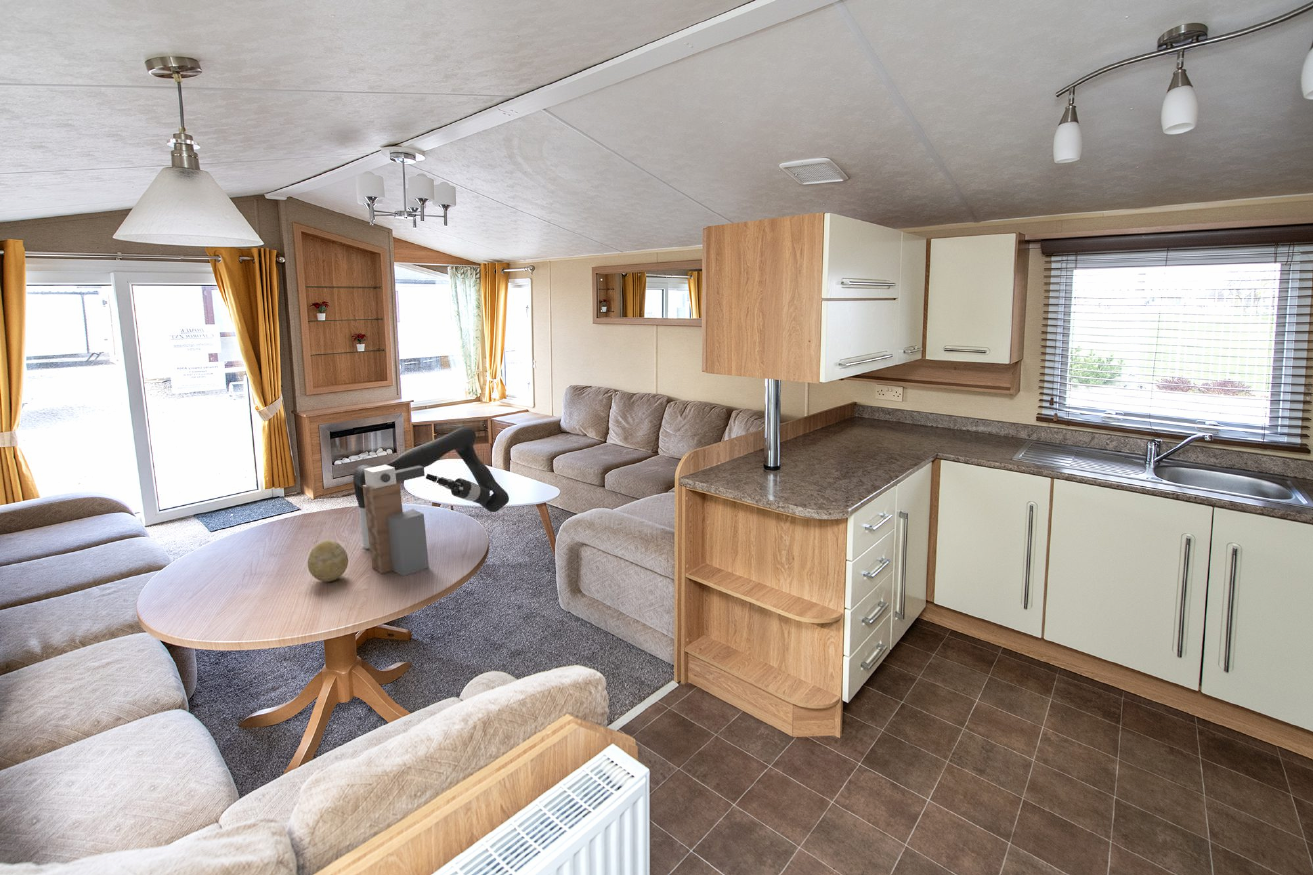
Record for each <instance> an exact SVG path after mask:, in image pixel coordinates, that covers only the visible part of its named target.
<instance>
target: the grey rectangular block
mask: <svg viewBox="0 0 1313 875" xmlns="http://www.w3.org/2000/svg"><path fill="white" fill-rule="evenodd" d="M424 514H425V513H423V512H420V511H417V510H416V509H408V510H405V511H403V512H401V513H397V514H393V515H390V516H387V523H388V532H389V541H390V550H391V559H392V568H393V570H392V571H393V572H395V573H397V574H399V575H400V576H402V577H405V576H408V575H411V574H413V573H414V574H415V573H416V572H420V571H422V570H426V569H428V568H430V565H429V554H428V545H427V544H428V543H427V533H426V523H425V515H424Z"/></svg>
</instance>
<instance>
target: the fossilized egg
mask: <svg viewBox="0 0 1313 875" xmlns="http://www.w3.org/2000/svg"><path fill="white" fill-rule="evenodd" d="M348 565H349V556H348V554H347V551H346V549H345V548H344V547H343V546H342V545H341V544H340V543H339V542H337V541H335V540H334V539H324V540H321V541H319V542H318V543H316V544H315V546H314V547H313V548H312V549H311V551H310V553H309V554H308V556H307V568H308V571H309V573H310V575H311V576H312V577H313V578H315V580H318V581H320V582H325V583H326V582H327V583H328V582H333V581H336V580H337V579H339V578H341V577H342V576H343V575H344V573H345V572H346V570H347V569H348Z"/></svg>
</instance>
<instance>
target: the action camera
mask: <svg viewBox="0 0 1313 875" xmlns="http://www.w3.org/2000/svg"><path fill="white" fill-rule="evenodd" d="M381 465H382V466H381ZM381 465H378V466H373V467H372V468H367V469H364V473H365V481H366V485H367V486H369V487H372V488H374V489H376V488H380V487H384V486H389V485H393V484H396V482H397V483H400V482H403V481H404V482H405V481H408V480H413V479H418V478H421V477H426V475H425V468H424V467H422V466H414V467H410V468H405V469H400V470H396V471H395V468H394V467H391V466H388V465H384V464H381Z"/></svg>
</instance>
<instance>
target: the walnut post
mask: <svg viewBox="0 0 1313 875" xmlns="http://www.w3.org/2000/svg"><path fill="white" fill-rule="evenodd" d="M400 484H401V483H400V482H396V484H393V485H389V486H384V487H380V488H376V489H374V488H372V487H369V486H367V485H363V494H364V502H365V511H366V519H367V528H368V537H369V545H370V549H369V554H370V562H371V568H372V569H373V570H375V571H377V572H378V573H381V575H382V574H386V573H388V572H392V571H393V568H392V559H391V550H390V541H389V532H388V523H387V516H390V515H393V514H397V513H401V512H404V511H403V502H402V501H403V499H402V494H401V485H400Z"/></svg>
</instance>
